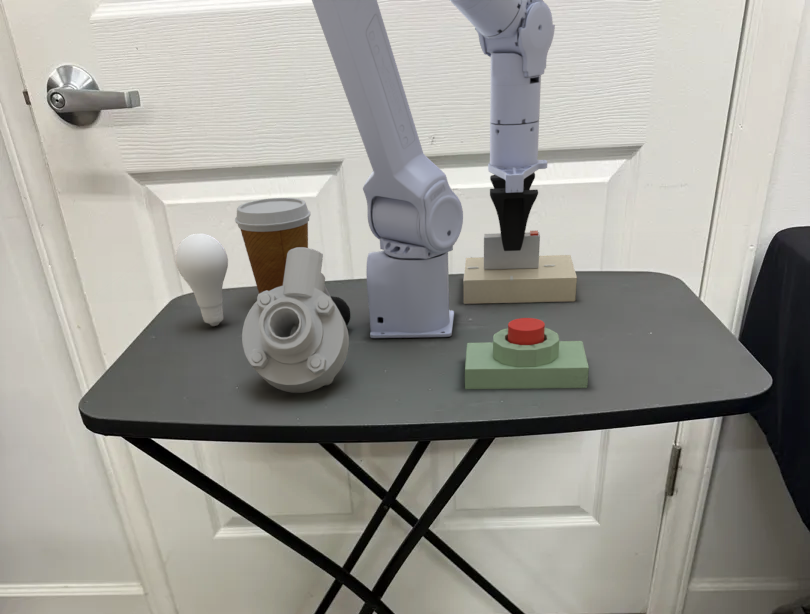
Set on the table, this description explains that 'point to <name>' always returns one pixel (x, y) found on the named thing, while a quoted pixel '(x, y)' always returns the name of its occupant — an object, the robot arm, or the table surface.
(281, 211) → the disposable coffee cup
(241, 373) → the table surface
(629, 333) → the table surface
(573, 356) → the button box
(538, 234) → the red-topped grey block
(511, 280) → the tan base
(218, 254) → the lightbulb
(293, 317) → the centrifugal pump
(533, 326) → the button
